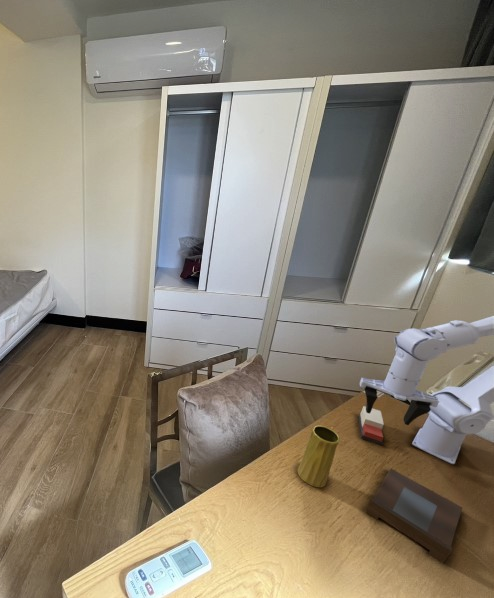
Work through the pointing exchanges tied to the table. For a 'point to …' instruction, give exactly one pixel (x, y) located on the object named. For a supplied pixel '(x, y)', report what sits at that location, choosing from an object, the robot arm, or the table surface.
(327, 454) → the vase
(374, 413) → the two-tone white red block
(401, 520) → the dark brown slab
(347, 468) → the table surface
